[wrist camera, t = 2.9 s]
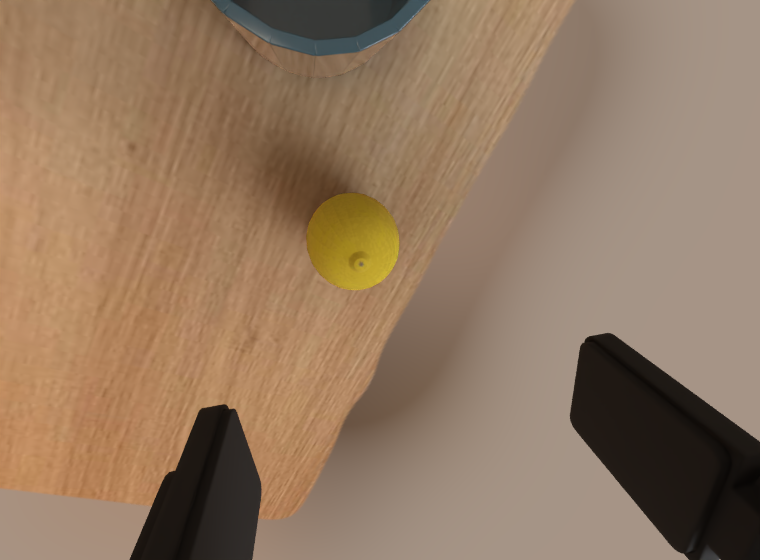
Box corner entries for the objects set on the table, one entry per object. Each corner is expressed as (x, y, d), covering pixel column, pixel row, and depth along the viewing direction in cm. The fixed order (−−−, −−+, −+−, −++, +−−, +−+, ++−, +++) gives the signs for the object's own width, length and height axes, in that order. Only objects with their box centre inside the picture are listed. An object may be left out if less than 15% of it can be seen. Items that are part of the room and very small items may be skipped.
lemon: (397, 237, 27) (429, 283, 20) (330, 271, 27) (338, 328, 20) (364, 167, 25) (387, 191, 18) (291, 205, 25) (283, 244, 18)
